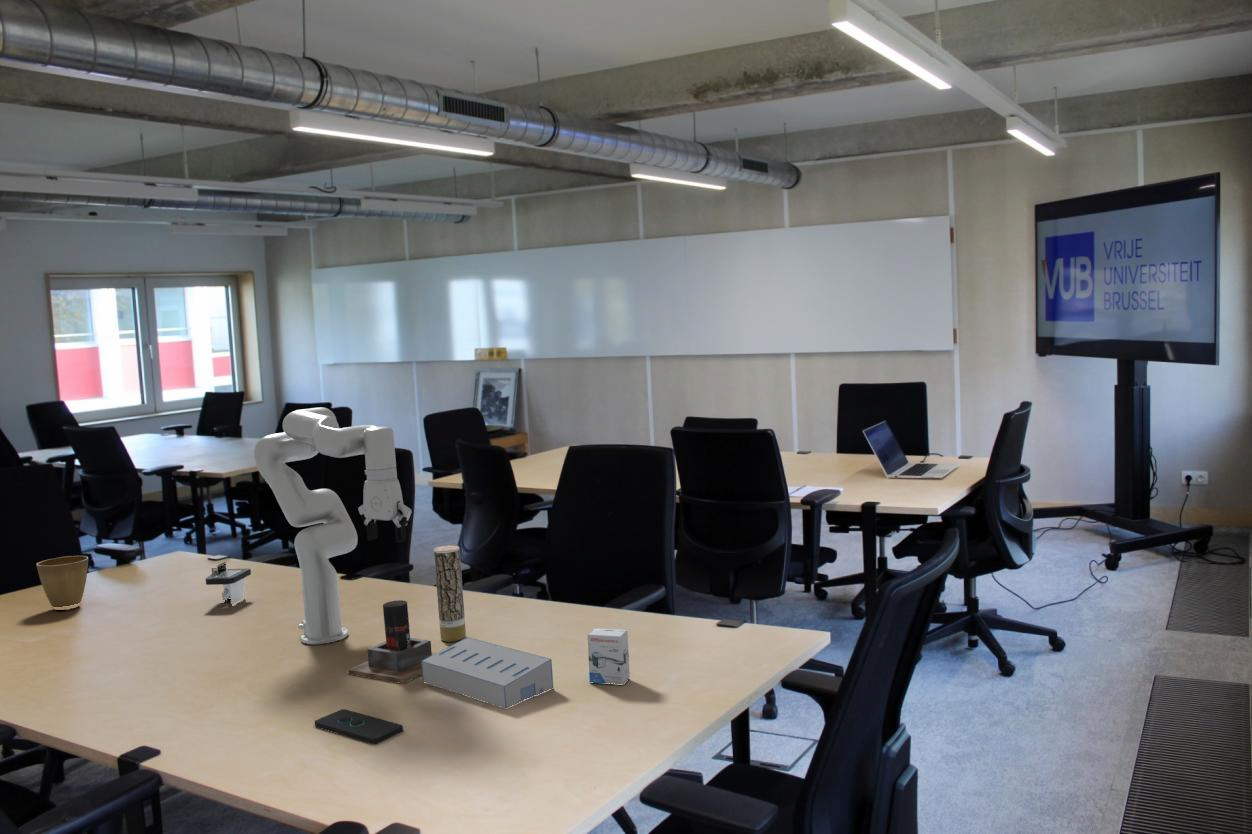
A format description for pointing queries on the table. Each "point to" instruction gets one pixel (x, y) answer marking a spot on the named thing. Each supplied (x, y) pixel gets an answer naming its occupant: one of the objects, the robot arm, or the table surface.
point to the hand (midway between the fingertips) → (386, 540)
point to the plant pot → (63, 579)
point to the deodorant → (396, 625)
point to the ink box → (608, 656)
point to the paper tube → (450, 593)
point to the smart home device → (359, 726)
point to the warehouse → (488, 672)
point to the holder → (394, 662)
